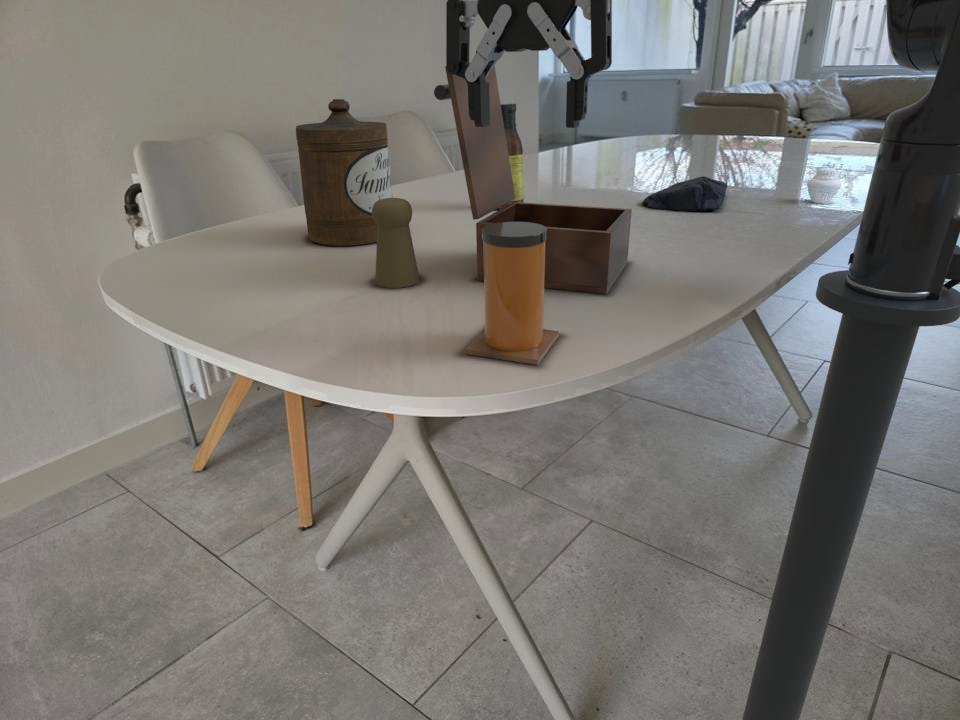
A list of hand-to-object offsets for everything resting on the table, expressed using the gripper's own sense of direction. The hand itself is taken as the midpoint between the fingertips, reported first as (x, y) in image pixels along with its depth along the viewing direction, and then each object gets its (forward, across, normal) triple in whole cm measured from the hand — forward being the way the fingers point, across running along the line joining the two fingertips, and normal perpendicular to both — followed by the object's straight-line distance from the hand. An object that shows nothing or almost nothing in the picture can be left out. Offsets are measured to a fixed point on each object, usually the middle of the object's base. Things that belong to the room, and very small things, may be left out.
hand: (526, 126), depth 56 cm
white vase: (+22, +34, +88) cm, 97 cm away
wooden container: (+21, -43, +34) cm, 59 cm away
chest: (+21, -4, +25) cm, 33 cm away
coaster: (+21, -1, -1) cm, 21 cm away
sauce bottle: (+22, -25, +64) cm, 72 cm away
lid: (+4, -14, +25) cm, 29 cm away
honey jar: (+21, -1, -1) cm, 21 cm away
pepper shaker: (+21, -23, +14) cm, 34 cm away
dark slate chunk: (+22, +9, +82) cm, 85 cm away
